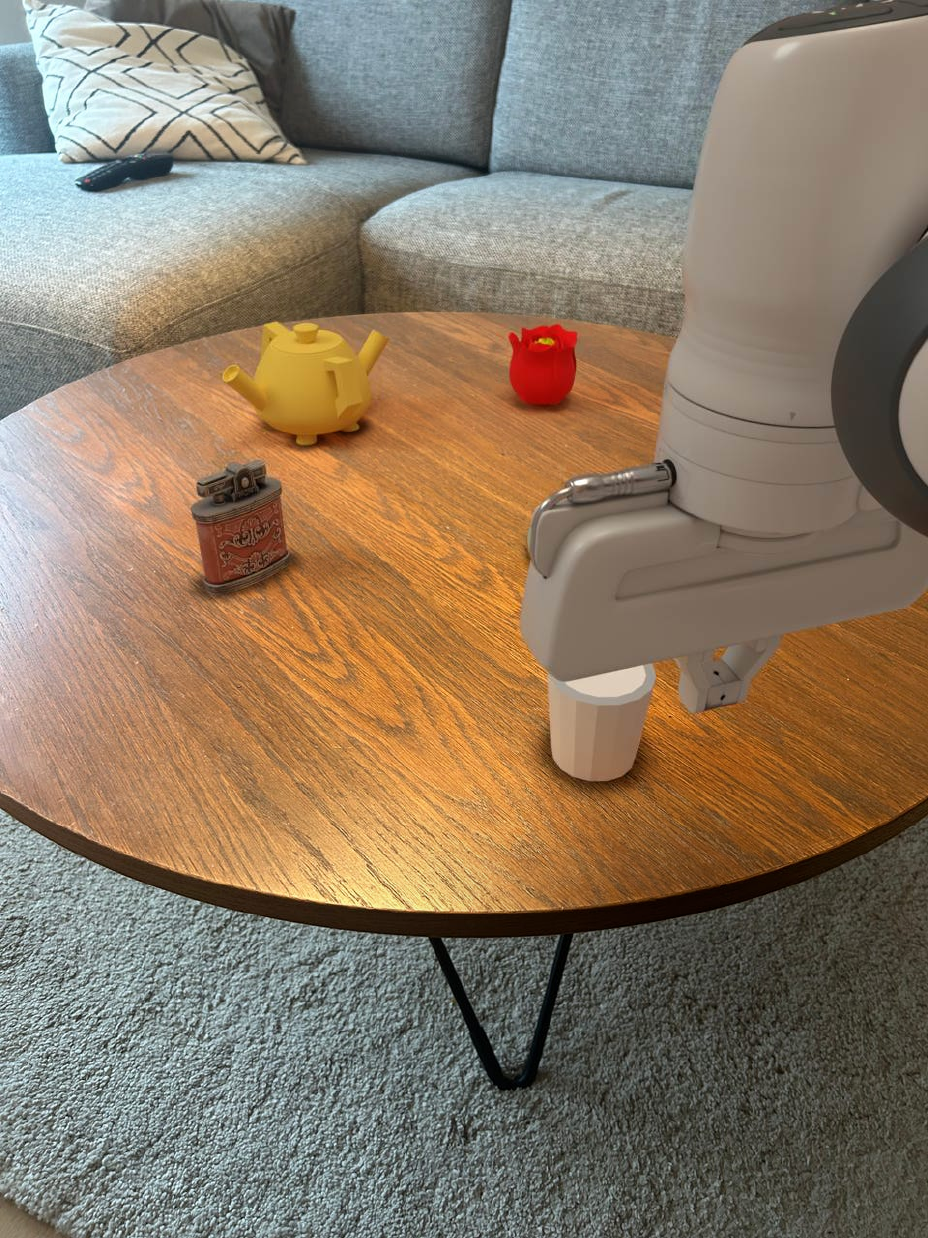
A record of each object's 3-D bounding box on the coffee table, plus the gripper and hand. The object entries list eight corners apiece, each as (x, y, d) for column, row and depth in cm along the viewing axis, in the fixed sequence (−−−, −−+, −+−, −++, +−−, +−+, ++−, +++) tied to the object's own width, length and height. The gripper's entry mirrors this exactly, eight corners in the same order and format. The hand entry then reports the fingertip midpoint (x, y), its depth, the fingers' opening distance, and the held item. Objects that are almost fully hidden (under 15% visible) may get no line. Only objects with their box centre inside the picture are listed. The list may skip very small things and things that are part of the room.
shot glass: (661, 741, 68) (673, 659, 64) (617, 803, 63) (628, 718, 59) (571, 706, 71) (577, 625, 67) (523, 763, 66) (527, 679, 62)
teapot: (276, 480, 99) (263, 372, 93) (194, 423, 111) (177, 323, 105) (436, 428, 110) (434, 327, 103) (346, 380, 121) (339, 287, 115)
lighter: (275, 549, 89) (262, 445, 83) (298, 563, 87) (286, 458, 81) (196, 584, 84) (176, 476, 78) (218, 600, 82) (200, 490, 76)
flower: (569, 418, 112) (574, 348, 108) (501, 412, 113) (502, 343, 109) (577, 391, 118) (581, 324, 114) (512, 386, 120) (514, 319, 115)
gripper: (567, 522, 37) (544, 791, 45) (1007, 447, 43) (917, 698, 51) (505, 449, 42) (494, 704, 50) (907, 391, 47) (839, 628, 55)
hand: (710, 700), depth 50 cm, fingers closed
